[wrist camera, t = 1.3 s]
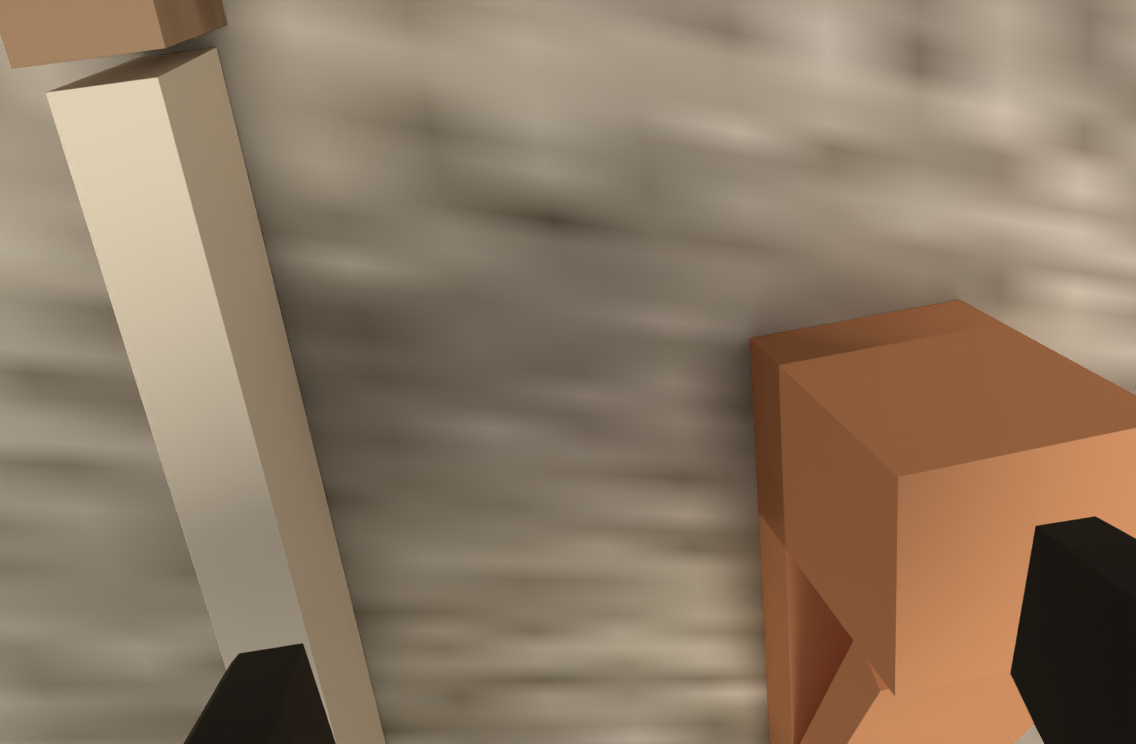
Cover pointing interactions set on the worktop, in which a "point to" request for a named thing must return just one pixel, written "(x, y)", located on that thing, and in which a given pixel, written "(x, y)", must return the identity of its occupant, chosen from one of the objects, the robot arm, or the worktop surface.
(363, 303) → the worktop surface
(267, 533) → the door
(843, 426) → the wedge
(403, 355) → the worktop surface
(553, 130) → the worktop surface
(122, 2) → the brown rectangular block
